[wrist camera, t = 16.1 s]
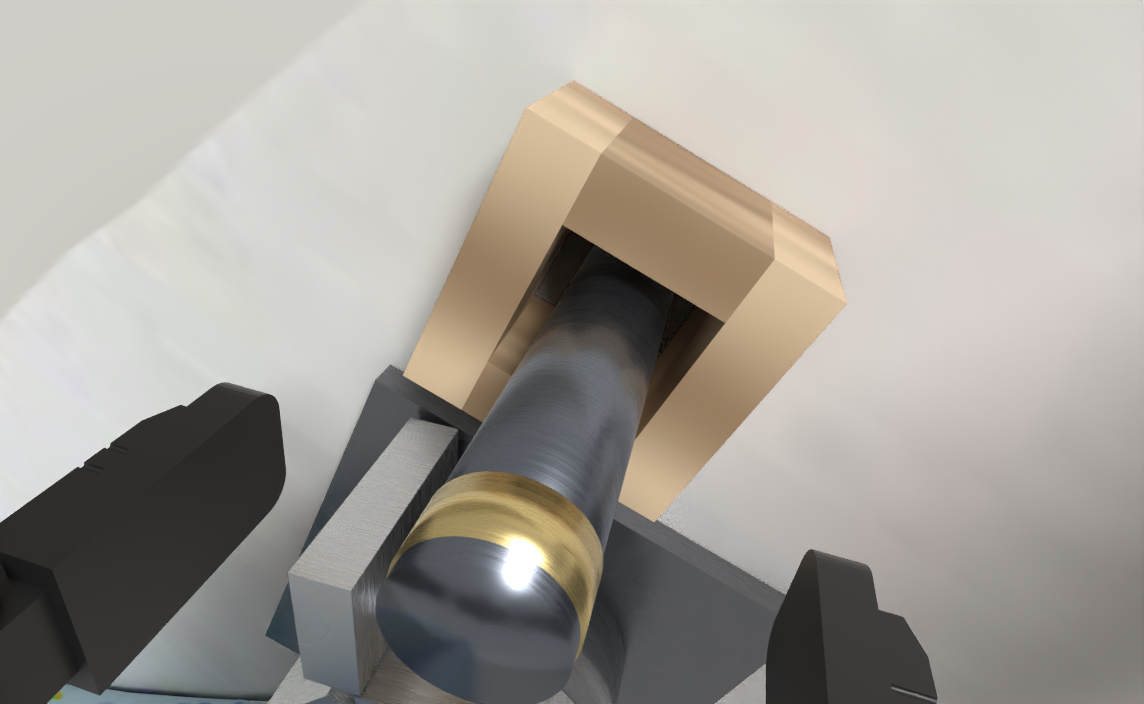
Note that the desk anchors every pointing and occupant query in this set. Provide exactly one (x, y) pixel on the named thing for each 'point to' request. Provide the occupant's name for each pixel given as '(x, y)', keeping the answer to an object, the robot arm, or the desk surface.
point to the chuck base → (626, 591)
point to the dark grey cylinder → (531, 502)
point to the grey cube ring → (366, 581)
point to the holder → (652, 246)
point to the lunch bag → (132, 698)
